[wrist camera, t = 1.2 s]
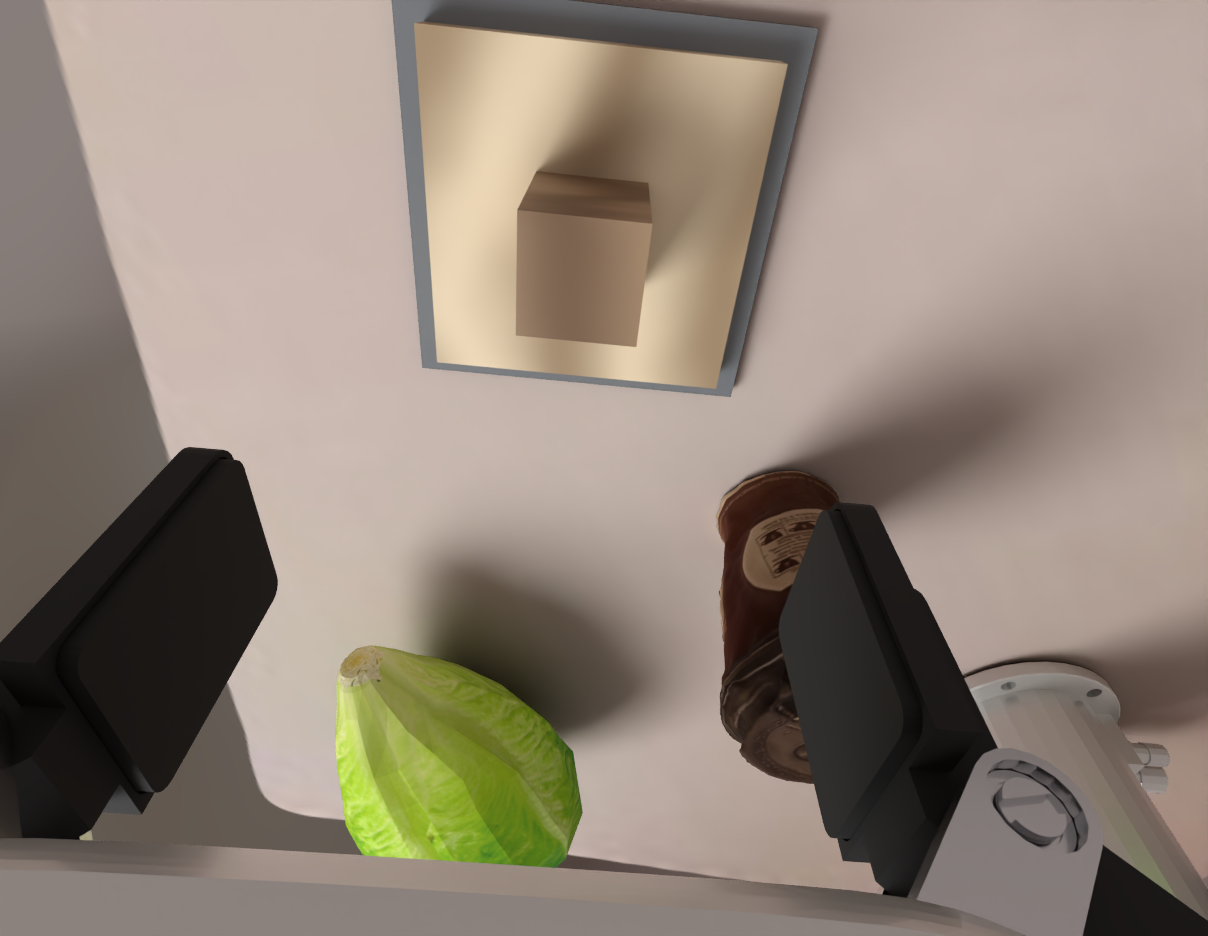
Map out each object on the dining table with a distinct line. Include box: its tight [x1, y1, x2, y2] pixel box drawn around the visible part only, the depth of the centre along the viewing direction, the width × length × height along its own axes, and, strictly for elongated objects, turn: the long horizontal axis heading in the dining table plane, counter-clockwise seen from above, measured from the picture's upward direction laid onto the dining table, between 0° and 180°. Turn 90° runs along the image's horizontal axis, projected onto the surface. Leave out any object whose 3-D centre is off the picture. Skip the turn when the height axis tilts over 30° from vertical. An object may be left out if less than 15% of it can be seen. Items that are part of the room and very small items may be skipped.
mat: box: [392, 0, 818, 397], centre depth 26 cm, size 14×14×1 cm
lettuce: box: [335, 646, 583, 868], centre depth 39 cm, size 14×20×12 cm
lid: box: [414, 21, 788, 389], centre depth 23 cm, size 12×12×6 cm
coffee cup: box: [716, 471, 839, 784], centre depth 29 cm, size 9×8×13 cm
